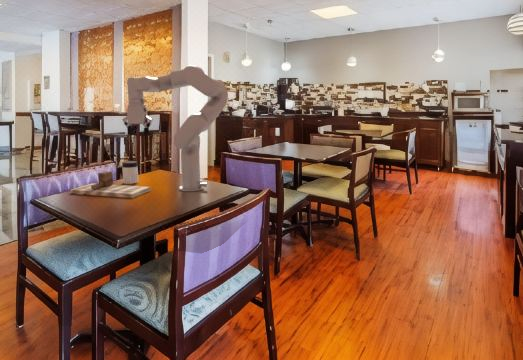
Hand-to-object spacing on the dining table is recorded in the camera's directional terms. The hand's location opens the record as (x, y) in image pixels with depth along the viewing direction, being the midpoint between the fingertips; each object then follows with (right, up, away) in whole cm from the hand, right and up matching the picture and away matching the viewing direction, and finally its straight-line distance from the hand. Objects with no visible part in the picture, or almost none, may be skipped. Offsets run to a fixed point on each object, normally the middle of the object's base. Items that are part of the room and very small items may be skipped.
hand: (138, 135), depth 201 cm
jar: (-10, -26, +18) cm, 33 cm away
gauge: (-18, -27, -3) cm, 33 cm away
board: (-12, -30, -5) cm, 33 cm away
